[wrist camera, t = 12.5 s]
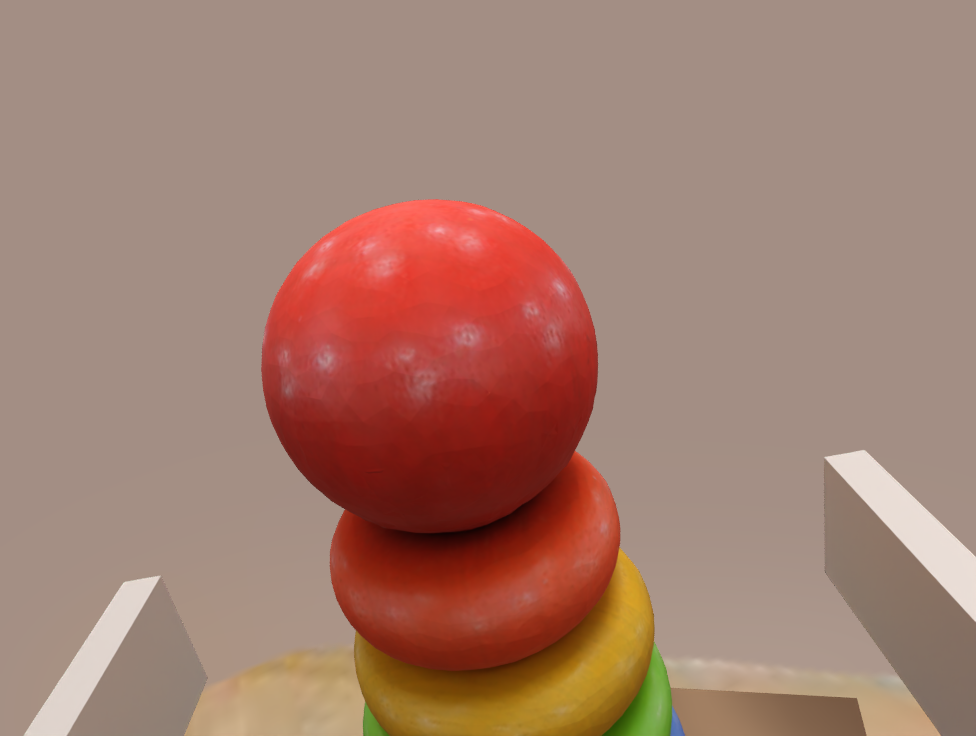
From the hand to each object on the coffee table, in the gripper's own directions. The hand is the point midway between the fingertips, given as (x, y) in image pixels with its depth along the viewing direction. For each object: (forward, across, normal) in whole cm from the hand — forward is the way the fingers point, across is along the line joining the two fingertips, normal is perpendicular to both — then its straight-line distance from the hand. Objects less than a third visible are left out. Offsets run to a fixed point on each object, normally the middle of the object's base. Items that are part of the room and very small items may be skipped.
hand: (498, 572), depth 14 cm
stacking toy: (-1, 0, -11) cm, 11 cm away
